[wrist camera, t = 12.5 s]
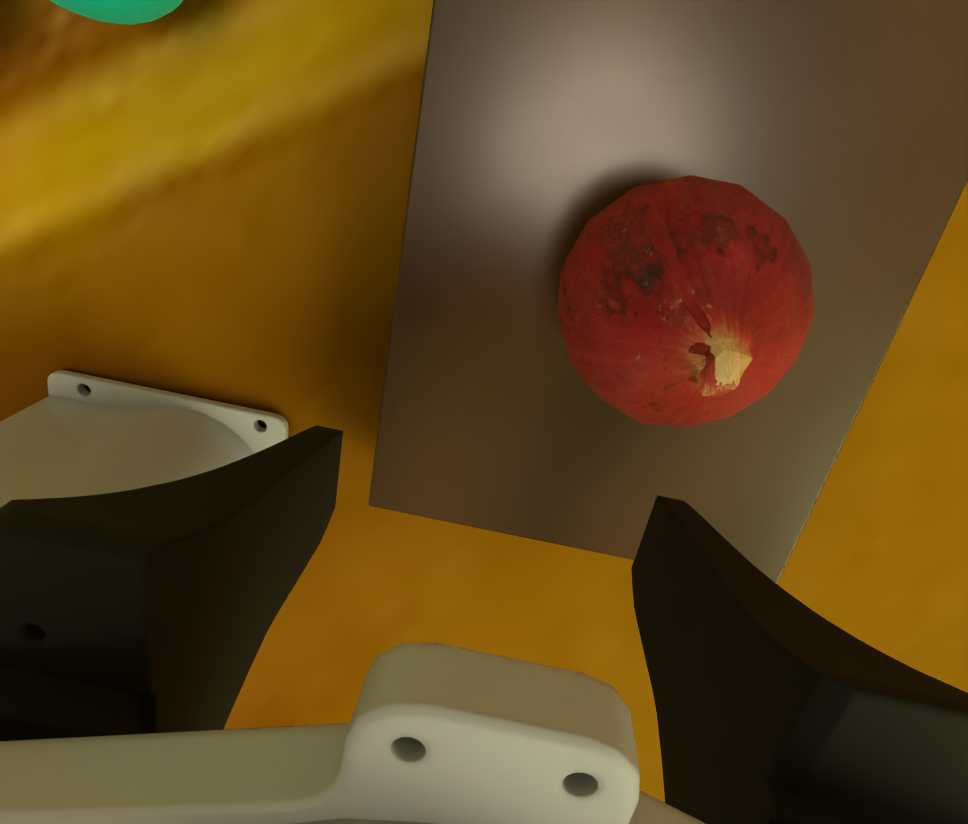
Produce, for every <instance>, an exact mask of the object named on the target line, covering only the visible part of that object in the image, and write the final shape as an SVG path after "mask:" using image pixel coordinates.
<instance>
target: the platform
mask: <svg viewBox="0 0 968 824" xmlns="http://www.w3.org/2000/svg"><path fill="white" fill-rule="evenodd" d="M688 175H693V176H698V177H703V178H708V179H714V180H719V181H724V182H729V183H734V184H739V185H742V186H743V187H744V188H746V189H747V190H748V191H750V192H751V193H752V194H753V195H755V196H756V197H757V198H759V199H760V200H761V201H763V202H764V203H765V204H766V205H768V206H769V207H770V208H772V209H773V210H774V211H776V212H777V213H778V214H779V215H781V216H782V217H783V218H785V219H786V220H787V222H788V224H789V226H790V227H791V229H792V231H793V233H794V234H795V236H796V238H797V240H798V241H799V243H800V245H801V247H802V248H803V250H804V252H805V253H806V255H807V257H808V259H809V262H810V265H811V273H812V286H813V300H814V315H813V317H812V320H811V323H810V326H809V329H808V331H807V334H806V337H805V340H804V343H803V345H802V348H801V351H800V354H799V357H798V358H797V360H796V361H795V362H794V363H793V364H792V366H791V367H790V368H789V369H788V370H787V372H786V373H785V374H784V375H783V376H782V378H781V379H780V380H779V381H778V382H777V384H776V385H775V386H774V387H773V388H772V390H771V391H770V392H769V393H768V394H767V395H766V396H764V397H762V398H761V399H759V400H757V401H756V402H754V403H752V404H751V405H749V406H747V407H746V408H744V409H742V410H741V411H739V412H737V413H736V414H734V415H732V416H731V417H729V418H724V419H720V420H716V421H712V422H707V423H703V424H699V425H695V426H691V427H678V426H666V425H654V424H643V423H641V422H638V421H636V420H634V419H633V418H631V417H629V416H628V415H626V414H625V413H623V412H621V411H620V410H618V409H617V408H615V407H613V406H612V405H610V404H609V403H607V402H605V401H604V400H602V399H601V398H599V397H598V396H597V395H596V394H595V392H594V391H593V390H592V389H591V388H590V386H589V385H588V384H587V383H586V382H585V381H584V379H583V378H582V377H581V376H580V375H579V373H578V372H577V371H576V370H575V369H574V368H573V366H572V365H571V362H570V359H569V356H568V352H567V349H566V346H565V342H564V339H563V336H562V332H561V329H560V326H559V322H558V317H557V306H558V296H559V285H560V274H561V267H562V265H563V263H564V261H565V260H566V258H567V256H568V255H569V253H570V251H571V249H572V248H573V246H574V244H575V243H576V241H577V239H578V237H579V236H580V234H581V232H582V231H583V229H584V227H585V225H586V224H587V222H588V221H589V220H590V219H591V218H592V217H594V216H595V215H596V214H598V213H599V212H601V211H602V210H603V209H605V208H606V207H607V206H609V205H610V204H611V203H613V202H614V201H616V200H617V199H618V198H620V197H621V196H622V195H624V194H625V193H626V192H628V191H629V190H631V189H632V188H633V187H635V186H640V185H645V184H649V183H654V182H659V181H664V180H669V179H674V178H678V177H683V176H688ZM967 181H968V0H434V1H433V9H432V16H431V24H430V32H429V39H428V47H427V55H426V63H425V70H424V78H423V86H422V94H421V101H420V109H419V117H418V124H417V132H416V140H415V148H414V155H413V163H412V171H411V178H410V186H409V194H408V202H407V209H406V217H405V225H404V233H403V240H402V248H401V256H400V263H399V271H398V279H397V287H396V294H395V302H394V310H393V318H392V325H391V333H390V341H389V348H388V356H387V364H386V372H385V379H384V387H383V395H382V402H381V410H380V418H379V426H378V433H377V441H376V449H375V457H374V464H373V472H372V480H371V487H370V495H369V505H370V506H374V507H379V508H384V509H389V510H393V511H398V512H403V513H408V514H413V515H418V516H423V517H428V518H432V519H437V520H442V521H447V522H452V523H457V524H462V525H467V526H472V527H476V528H481V529H486V530H491V531H496V532H501V533H506V534H511V535H516V536H520V537H525V538H530V539H535V540H540V541H545V542H550V543H555V544H560V545H564V546H569V547H574V548H579V549H584V550H589V551H594V552H599V553H603V554H608V555H613V556H618V557H623V558H628V559H633V560H635V557H636V554H637V551H638V548H639V545H640V543H641V540H642V537H643V534H644V531H645V528H646V525H647V523H648V520H649V517H650V514H651V511H652V508H653V505H654V502H655V500H656V497H657V495H658V496H663V497H668V498H673V499H678V500H683V501H685V502H686V503H687V504H689V505H690V506H691V507H692V508H693V509H695V510H696V511H697V512H698V513H699V514H700V515H701V516H702V517H703V518H704V519H705V520H706V521H707V522H708V523H709V524H710V525H712V526H713V527H714V528H715V529H716V530H717V531H718V532H719V533H720V534H721V535H722V536H723V537H724V538H725V539H726V540H727V541H728V542H729V543H730V544H731V545H732V546H733V547H734V548H736V549H737V550H738V551H739V552H740V553H741V554H742V555H743V556H744V557H745V558H747V559H748V560H749V561H750V562H751V563H752V564H753V565H754V566H756V567H757V568H758V569H759V570H760V571H761V572H763V573H764V574H765V575H766V576H767V577H769V578H770V579H771V580H772V581H773V582H775V583H776V584H777V582H778V580H779V578H780V576H781V574H782V572H783V570H784V568H785V566H786V563H787V561H788V559H789V557H790V555H791V553H792V551H793V549H794V547H795V544H796V542H797V540H798V538H799V536H800V534H801V532H802V530H803V527H804V525H805V523H806V521H807V519H808V517H809V515H810V513H811V511H812V508H813V506H814V504H815V502H816V500H817V498H818V496H819V494H820V492H821V489H822V487H823V485H824V483H825V481H826V479H827V477H828V475H829V472H830V470H831V468H832V466H833V464H834V462H835V460H836V458H837V456H838V453H839V451H840V449H841V447H842V445H843V443H844V441H845V439H846V437H847V434H848V432H849V430H850V428H851V426H852V424H853V422H854V420H855V417H856V415H857V413H858V411H859V409H860V407H861V405H862V403H863V401H864V398H865V396H866V394H867V392H868V390H869V388H870V386H871V384H872V382H873V379H874V377H875V375H876V373H877V371H878V369H879V367H880V365H881V362H882V360H883V358H884V356H885V354H886V352H887V350H888V348H889V346H890V343H891V341H892V339H893V337H894V335H895V333H896V331H897V329H898V327H899V324H900V322H901V320H902V318H903V316H904V314H905V312H906V310H907V307H908V305H909V303H910V301H911V299H912V297H913V295H914V293H915V291H916V288H917V286H918V284H919V282H920V280H921V278H922V276H923V274H924V272H925V269H926V267H927V265H928V263H929V261H930V259H931V257H932V255H933V252H934V250H935V248H936V246H937V244H938V242H939V240H940V238H941V236H942V233H943V231H944V229H945V227H946V225H947V223H948V221H949V219H950V217H951V214H952V212H953V210H954V208H955V206H956V204H957V202H958V200H959V197H960V195H961V193H962V191H963V189H964V187H965V185H966V183H967Z"/></svg>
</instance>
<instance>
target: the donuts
mask: <svg viewBox="0 0 968 824" xmlns="http://www.w3.org/2000/svg"><path fill="white" fill-rule="evenodd" d="M50 1H51V2H53V3H55V4H57V5H59V6H61V7H63V8H65V9H67V10H69V11H72V12H74V13H77V14H80V15H82V16H85V17H88V18H91V19H94V20H97V21H101V22H106V23H115V24H125V25H131V24H140V23H146V22H150V21H154V20H156V19H159V18H161V17H163V16H165V15H166V14H168V13H170V12H172V11H173V10H175V9H176V8H177V7H178V6H179V5H180V4H181V3H182V1H183V0H50Z"/></svg>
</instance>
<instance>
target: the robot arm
mask: <svg viewBox="0 0 968 824" xmlns="http://www.w3.org/2000/svg"><path fill="white" fill-rule="evenodd" d="M47 384H48V394H49V396H48V397H46V398H44V399H42V400H40V401H38V402H37V403H35V404H33V405H31V406H29V407H27V408H25V409H23V410H21V411H19V412H17V413H16V414H14V415H12V416H10V417H8V418H6V419H4V420H2V421H0V824H968V693H967V692H964V691H962V690H960V689H958V688H955V687H953V686H951V685H949V684H946V683H944V682H942V681H940V680H937V679H935V678H933V677H931V676H928V675H926V674H924V673H922V672H919V671H917V670H915V669H913V668H911V667H909V666H907V665H905V664H903V663H901V662H899V661H897V660H895V659H894V658H892V657H890V656H888V655H886V654H884V653H882V652H880V651H878V650H876V649H874V648H873V647H871V646H869V645H867V644H866V643H864V642H862V641H860V640H858V639H857V638H855V637H853V636H852V635H850V634H848V633H847V632H845V631H844V630H842V629H840V628H839V627H837V626H835V625H834V624H832V623H831V622H829V621H827V620H826V619H824V618H823V617H821V616H820V615H818V614H817V613H815V612H814V611H812V610H811V609H809V608H808V607H807V606H805V605H804V604H803V603H801V602H800V601H798V600H797V599H796V598H794V597H793V596H792V595H790V594H789V593H787V592H786V591H785V590H783V589H782V588H781V587H780V586H778V585H777V584H776V583H775V582H773V581H772V580H771V579H770V578H769V577H767V576H766V575H765V574H764V573H763V572H761V571H760V570H759V569H758V568H757V567H756V566H754V565H753V564H752V563H751V562H750V561H749V560H748V559H747V558H745V557H744V556H743V555H742V554H741V553H740V552H739V551H738V550H737V549H736V548H734V547H733V546H732V545H731V544H730V543H729V542H728V541H727V540H726V539H725V538H724V537H723V536H722V535H721V534H720V533H719V532H718V531H717V530H716V529H715V528H714V527H713V526H712V525H710V524H709V523H708V522H707V521H706V520H705V519H704V518H703V517H702V516H701V515H700V514H699V513H698V512H697V511H696V510H695V509H693V508H692V507H691V506H690V505H689V504H687V503H686V502H685V501H683V500H678V499H673V498H668V497H663V496H658V495H657V497H656V500H655V502H654V505H653V508H652V511H651V514H650V517H649V520H648V523H647V525H646V528H645V531H644V534H643V537H642V540H641V543H640V545H639V548H638V551H637V554H636V557H635V560H634V563H633V565H632V585H633V598H634V608H635V613H636V618H637V623H638V627H639V632H640V636H641V641H642V645H643V650H644V654H645V659H646V663H647V667H648V672H649V676H650V681H651V685H652V690H653V694H654V700H655V705H656V711H657V719H658V728H659V737H660V747H661V756H662V768H663V780H664V791H665V803H664V802H662V801H660V800H658V799H656V798H654V797H652V796H650V795H648V794H646V793H644V792H642V791H640V790H639V780H640V774H639V767H638V761H637V755H636V748H635V742H634V735H633V729H632V722H631V716H630V710H629V707H628V706H627V704H626V703H625V702H624V701H623V699H622V698H621V697H620V695H619V694H618V693H617V692H616V690H615V689H614V688H613V686H611V685H609V684H607V683H604V682H602V681H600V680H597V679H595V678H593V677H590V676H588V675H586V674H583V673H581V672H576V671H571V670H566V669H561V668H556V667H551V666H546V665H542V664H537V663H532V662H527V661H522V660H517V659H512V658H507V657H503V656H498V655H493V654H488V653H483V652H478V651H473V650H468V649H463V648H459V647H454V646H449V645H444V644H439V643H403V644H401V645H399V646H397V647H395V648H393V649H391V650H389V651H387V652H385V653H383V654H381V655H379V656H377V657H376V659H375V661H374V663H373V665H372V667H371V668H370V670H369V672H368V674H367V676H366V677H365V680H364V683H363V686H362V689H361V692H360V695H359V698H358V701H357V705H356V708H355V711H354V714H353V717H352V720H351V722H350V723H342V724H323V725H304V726H285V727H266V728H247V729H227V730H223V729H224V727H225V724H226V722H227V719H228V717H229V715H230V712H231V710H232V708H233V706H234V703H235V701H236V699H237V696H238V694H239V692H240V690H241V687H242V685H243V683H244V681H245V678H246V676H247V674H248V672H249V669H250V667H251V665H252V663H253V661H254V659H255V656H256V654H257V652H258V650H259V648H260V646H261V644H262V641H263V639H264V637H265V635H266V633H267V631H268V629H269V627H270V626H271V624H272V622H273V620H274V618H275V616H276V615H277V613H278V611H279V610H280V608H281V606H282V605H283V603H284V602H285V600H286V598H287V597H288V595H289V593H290V592H291V590H292V588H293V587H294V585H295V584H296V582H297V580H298V579H299V577H300V575H301V574H302V572H303V570H304V569H305V567H306V565H307V564H308V562H309V560H310V559H311V557H312V555H313V554H314V552H315V550H316V549H317V547H318V545H319V544H320V542H321V539H322V537H323V535H324V533H325V530H326V528H327V526H328V523H329V521H330V518H331V516H332V513H333V511H334V509H335V503H336V493H337V483H338V474H339V464H340V455H341V445H342V435H343V431H341V430H336V429H331V428H326V427H321V426H314V427H311V428H309V429H307V430H304V431H302V432H300V433H298V434H296V435H294V436H292V437H290V438H288V428H289V427H288V422H287V421H286V419H285V418H284V417H283V416H282V415H279V414H277V413H272V412H267V411H262V410H257V409H252V408H247V407H242V406H237V405H233V404H228V403H223V402H218V401H213V400H208V399H203V398H198V397H193V396H189V395H184V394H179V393H174V392H169V391H164V390H159V389H154V388H149V387H145V386H140V385H135V384H130V383H125V382H120V381H115V380H110V379H105V378H101V377H96V376H91V375H86V374H81V373H76V372H71V371H66V370H58V371H56V372H54V373H52V374H50V375H49V376H48V380H47ZM84 384H85V385H87V386H88V387H89V388H90V390H91V392H89V391H87V390H86V389H85V386H84ZM258 420H262V421H264V422H265V423H266V426H267V428H263V427H261V426H260V425H259V424H258Z"/></svg>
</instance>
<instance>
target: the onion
mask: <svg viewBox="0 0 968 824" xmlns="http://www.w3.org/2000/svg"><path fill="white" fill-rule="evenodd" d="M813 315H814V300H813V286H812V273H811V265H810V262H809V259H808V257H807V255H806V253H805V252H804V250H803V248H802V247H801V245H800V243H799V241H798V240H797V238H796V236H795V234H794V233H793V231H792V229H791V227H790V226H789V224H788V222H787V220H786V219H785V218H783V217H782V216H781V215H779V214H778V213H777V212H776V211H774V210H773V209H772V208H770V207H769V206H768V205H766V204H765V203H764V202H763V201H761V200H760V199H759V198H757V197H756V196H755V195H753V194H752V193H751V192H750V191H748V190H747V189H746V188H744V187H743V186H742V185H739V184H734V183H729V182H724V181H719V180H714V179H708V178H703V177H698V176H693V175H688V176H683V177H678V178H674V179H669V180H664V181H659V182H654V183H649V184H645V185H640V186H635V187H633V188H632V189H631V190H629V191H628V192H626V193H625V194H624V195H622V196H621V197H620V198H618V199H617V200H616V201H614V202H613V203H611V204H610V205H609V206H607V207H606V208H605V209H603V210H602V211H601V212H599V213H598V214H596V215H595V216H594V217H592V218H591V219H590V220H589V221H588V222H587V224H586V225H585V227H584V229H583V231H582V232H581V234H580V236H579V237H578V239H577V241H576V243H575V244H574V246H573V248H572V249H571V251H570V253H569V255H568V256H567V258H566V260H565V261H564V263H563V265H562V267H561V274H560V285H559V296H558V306H557V317H558V322H559V326H560V329H561V332H562V336H563V339H564V342H565V346H566V349H567V352H568V356H569V359H570V362H571V365H572V366H573V368H574V369H575V370H576V371H577V372H578V373H579V375H580V376H581V377H582V378H583V379H584V381H585V382H586V383H587V384H588V385H589V386H590V388H591V389H592V390H593V391H594V392H595V394H596V395H597V396H598V397H599V398H601V399H602V400H604V401H605V402H607V403H609V404H610V405H612V406H613V407H615V408H617V409H618V410H620V411H621V412H623V413H625V414H626V415H628V416H629V417H631V418H633V419H634V420H636V421H638V422H641V423H643V424H654V425H666V426H678V427H691V426H695V425H699V424H703V423H707V422H712V421H716V420H720V419H724V418H729V417H731V416H732V415H734V414H736V413H737V412H739V411H741V410H742V409H744V408H746V407H747V406H749V405H751V404H752V403H754V402H756V401H757V400H759V399H761V398H762V397H764V396H766V395H767V394H768V393H769V392H770V391H771V390H772V388H773V387H774V386H775V385H776V384H777V382H778V381H779V380H780V379H781V378H782V376H783V375H784V374H785V373H786V372H787V370H788V369H789V368H790V367H791V366H792V364H793V363H794V362H795V361H796V360H797V358H798V357H799V354H800V351H801V348H802V345H803V343H804V340H805V337H806V334H807V331H808V329H809V326H810V323H811V320H812V317H813Z"/></svg>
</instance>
